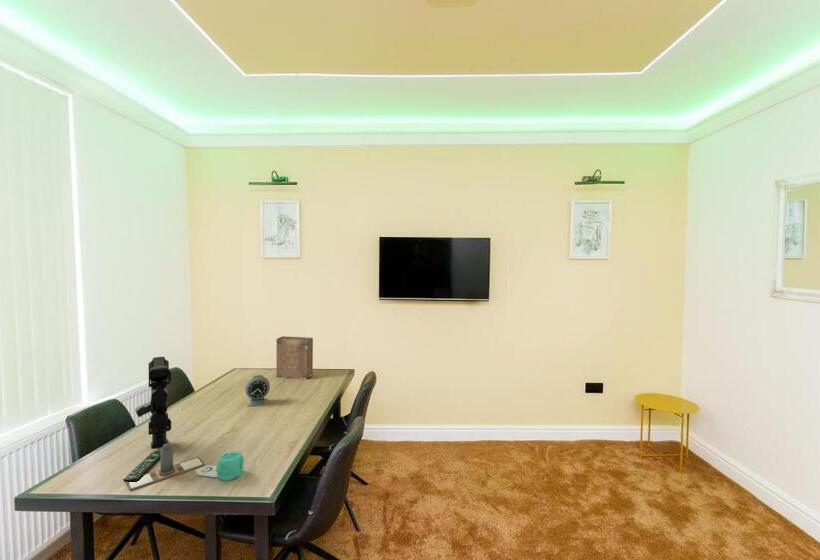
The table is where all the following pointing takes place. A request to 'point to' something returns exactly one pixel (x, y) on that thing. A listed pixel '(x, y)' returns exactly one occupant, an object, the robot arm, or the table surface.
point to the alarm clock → (257, 390)
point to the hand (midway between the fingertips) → (159, 430)
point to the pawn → (166, 460)
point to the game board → (155, 476)
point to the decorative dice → (230, 466)
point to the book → (294, 357)
